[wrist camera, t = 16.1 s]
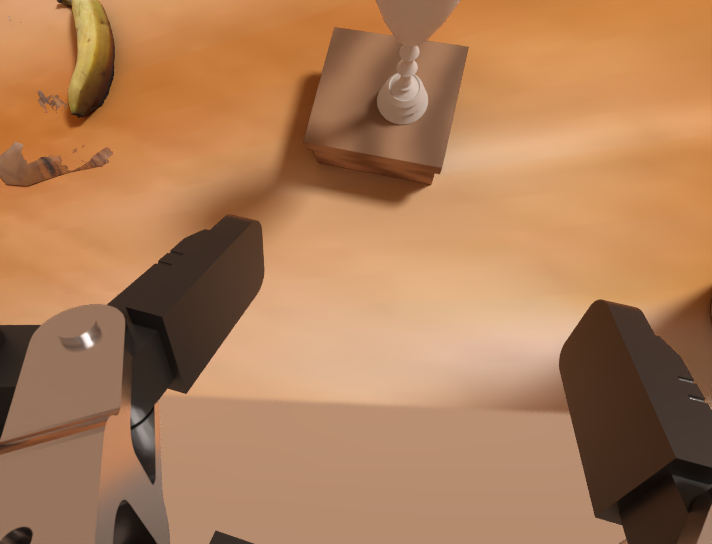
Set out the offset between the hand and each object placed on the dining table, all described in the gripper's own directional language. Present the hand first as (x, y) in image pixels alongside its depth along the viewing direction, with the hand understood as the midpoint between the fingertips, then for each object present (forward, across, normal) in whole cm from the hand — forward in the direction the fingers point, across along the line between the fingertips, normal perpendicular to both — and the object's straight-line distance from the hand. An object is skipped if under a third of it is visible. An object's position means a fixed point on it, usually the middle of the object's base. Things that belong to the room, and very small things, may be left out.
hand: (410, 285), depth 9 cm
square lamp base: (+36, +6, +6) cm, 37 cm away
